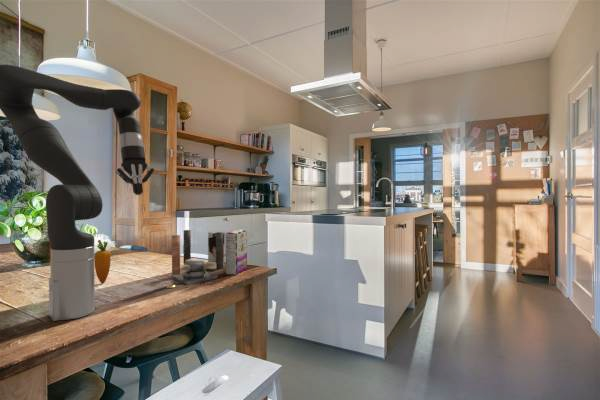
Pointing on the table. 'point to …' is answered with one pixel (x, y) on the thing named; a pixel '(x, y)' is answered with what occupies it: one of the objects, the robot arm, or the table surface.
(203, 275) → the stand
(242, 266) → the candy bar box
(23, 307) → the table surface
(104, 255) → the carrot
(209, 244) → the dark printed box
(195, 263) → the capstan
